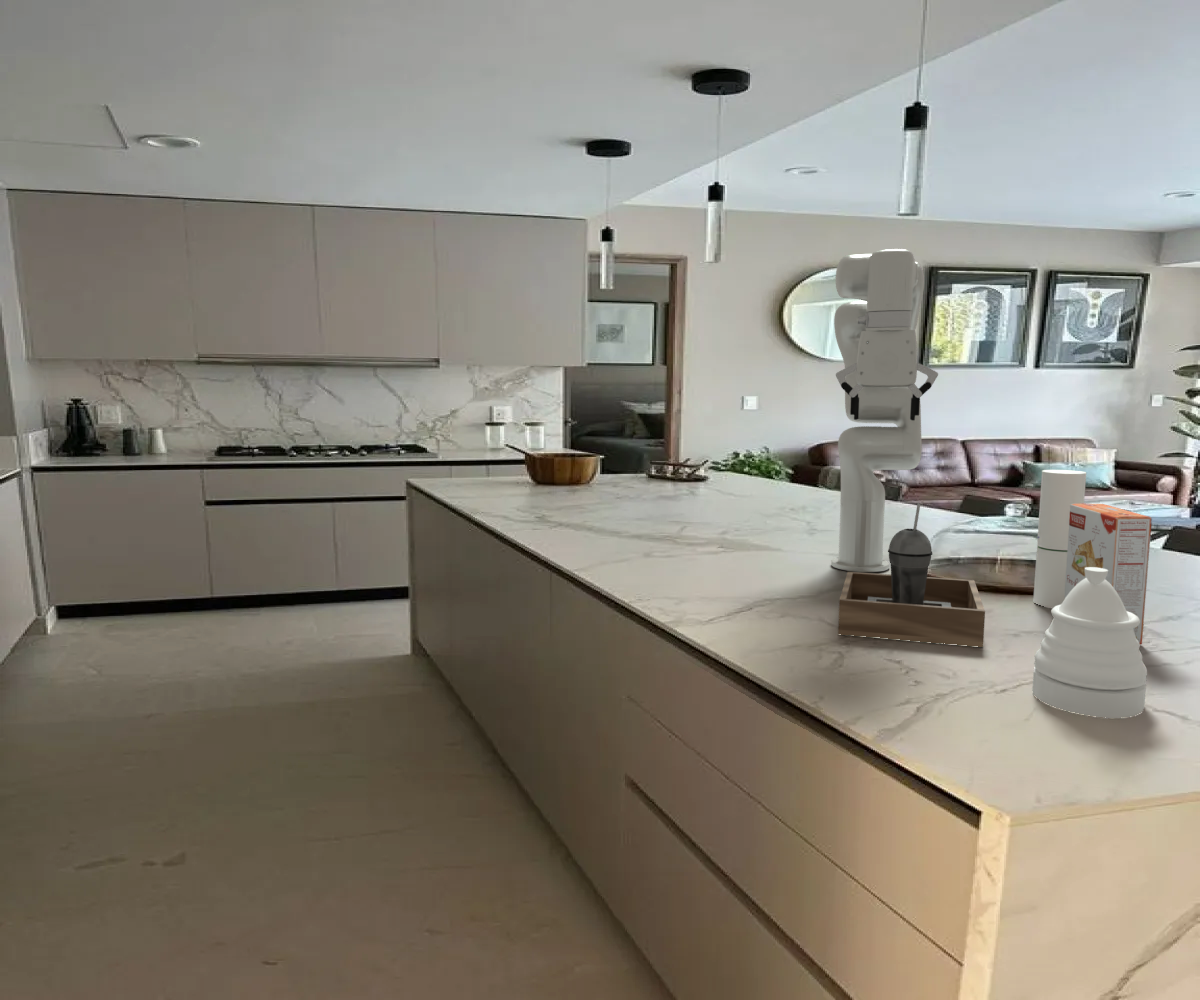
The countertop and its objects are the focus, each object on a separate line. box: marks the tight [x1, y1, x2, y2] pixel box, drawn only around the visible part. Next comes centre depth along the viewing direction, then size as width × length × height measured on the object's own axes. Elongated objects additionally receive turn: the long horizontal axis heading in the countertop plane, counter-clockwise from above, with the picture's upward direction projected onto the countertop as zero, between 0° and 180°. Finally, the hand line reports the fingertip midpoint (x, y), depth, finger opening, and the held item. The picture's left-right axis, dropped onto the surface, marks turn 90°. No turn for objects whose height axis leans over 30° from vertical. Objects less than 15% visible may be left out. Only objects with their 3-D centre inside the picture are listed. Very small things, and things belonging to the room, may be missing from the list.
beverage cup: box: [887, 502, 933, 605], centre depth 146 cm, size 7×7×20 cm
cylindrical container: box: [1033, 469, 1087, 609], centre depth 158 cm, size 7×7×25 cm
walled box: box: [837, 571, 986, 648], centre depth 147 cm, size 22×22×6 cm
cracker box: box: [1064, 502, 1153, 646], centre depth 140 cm, size 14×6×21 cm, turn 178°
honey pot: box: [1031, 567, 1148, 719], centre depth 111 cm, size 13×13×18 cm
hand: (884, 419), depth 153 cm, fingers open, 9 cm apart
